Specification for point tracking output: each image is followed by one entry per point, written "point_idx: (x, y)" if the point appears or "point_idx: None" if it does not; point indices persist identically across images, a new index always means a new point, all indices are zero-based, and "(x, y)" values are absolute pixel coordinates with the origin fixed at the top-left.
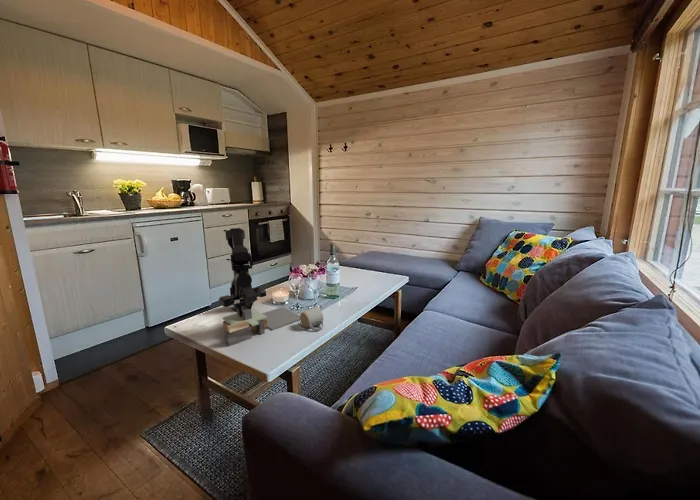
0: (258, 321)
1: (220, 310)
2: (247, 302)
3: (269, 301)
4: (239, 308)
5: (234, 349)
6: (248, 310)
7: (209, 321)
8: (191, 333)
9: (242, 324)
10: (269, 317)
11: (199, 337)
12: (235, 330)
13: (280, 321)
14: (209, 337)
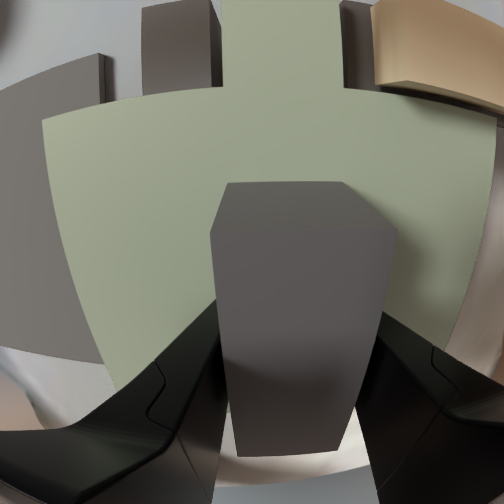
0: (178, 80)
1: (258, 476)
2: None
3: (45, 422)
4: (455, 378)
5: (470, 10)
6: (269, 286)
7: (358, 431)
8: (476, 364)
9: (480, 19)
10: (47, 280)
11: (495, 309)
12: None
13: (4, 160)
14: (481, 278)
